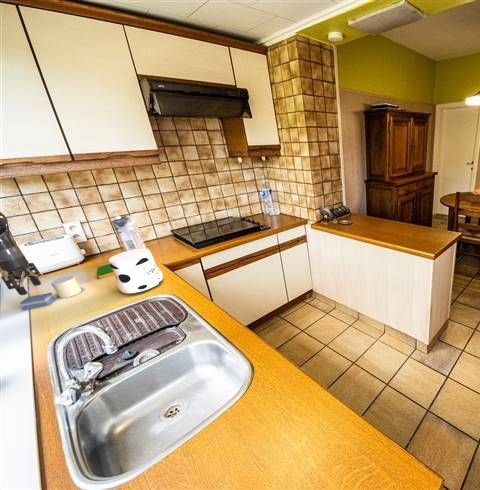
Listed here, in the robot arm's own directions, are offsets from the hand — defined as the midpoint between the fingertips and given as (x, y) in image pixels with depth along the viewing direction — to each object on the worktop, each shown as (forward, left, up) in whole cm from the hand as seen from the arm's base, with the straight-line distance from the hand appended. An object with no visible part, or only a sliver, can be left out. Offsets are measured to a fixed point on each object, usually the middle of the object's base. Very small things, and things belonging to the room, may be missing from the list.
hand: (31, 289), depth 119 cm
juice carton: (+24, +44, -8) cm, 51 cm away
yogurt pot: (+8, +6, -8) cm, 13 cm away
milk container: (+41, -3, -8) cm, 42 cm away
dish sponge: (+15, +26, -8) cm, 31 cm away
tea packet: (0, 0, -8) cm, 8 cm away
